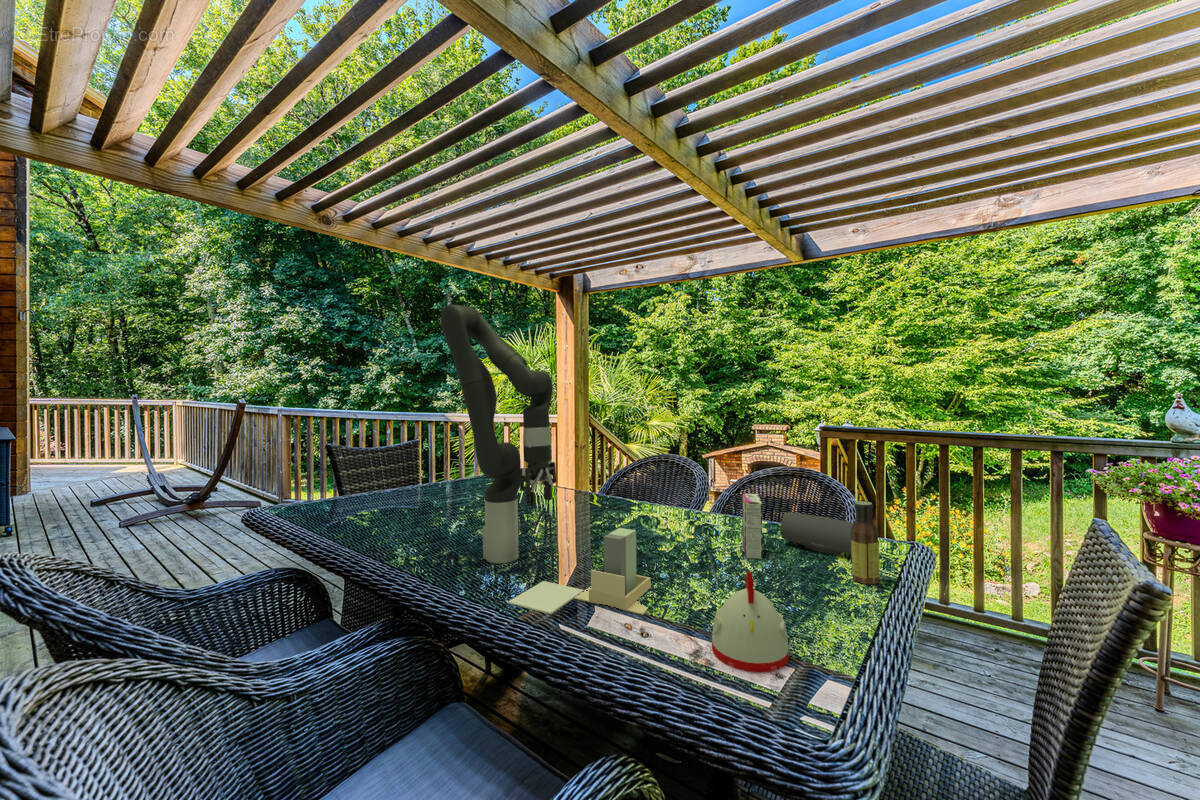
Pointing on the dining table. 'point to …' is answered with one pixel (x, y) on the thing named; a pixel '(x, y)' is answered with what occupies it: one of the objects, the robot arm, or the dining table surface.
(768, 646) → the kitchen timer
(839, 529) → the bluetooth speaker
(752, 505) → the candy bar box
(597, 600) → the tan open holder
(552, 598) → the mat
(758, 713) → the dining table surface
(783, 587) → the dining table surface
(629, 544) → the slim sage box
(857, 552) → the sauce bottle
